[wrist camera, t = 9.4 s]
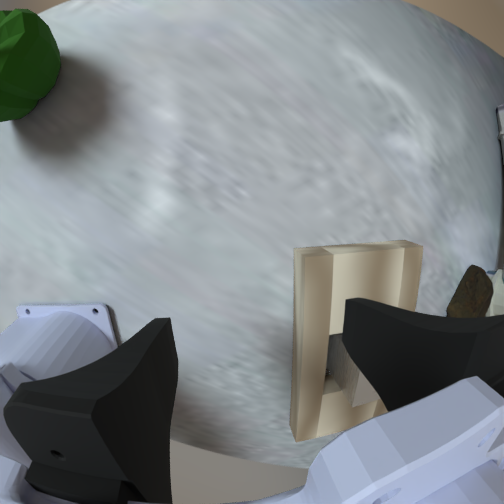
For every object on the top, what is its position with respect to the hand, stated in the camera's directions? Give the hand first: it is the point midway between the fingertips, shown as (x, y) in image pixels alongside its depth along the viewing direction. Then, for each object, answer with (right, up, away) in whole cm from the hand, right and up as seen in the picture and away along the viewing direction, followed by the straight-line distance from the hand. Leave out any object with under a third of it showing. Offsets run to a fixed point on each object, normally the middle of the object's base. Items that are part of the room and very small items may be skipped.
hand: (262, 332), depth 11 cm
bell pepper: (-18, +17, +3) cm, 25 cm away
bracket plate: (+8, -5, +12) cm, 15 cm away
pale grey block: (+8, -5, +12) cm, 15 cm away
